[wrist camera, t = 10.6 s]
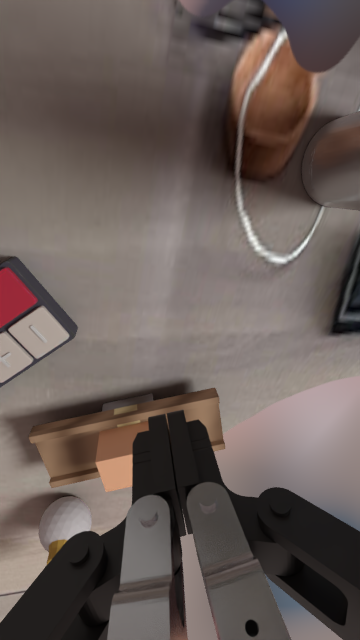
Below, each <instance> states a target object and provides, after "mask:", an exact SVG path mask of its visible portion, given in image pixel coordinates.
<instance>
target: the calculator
mask: <svg viewBox="0 0 360 640" xmlns="http://www.w3.org/2000/svg"><path fill="white" fill-rule="evenodd" d="M77 328H78V327H77V325H76V324H75V323H74V322H73V320H72V319H71V318H70V317H69V316H68V315H67V314H66V312H65V311H64V310H63V309H62V308H61V307H60V306H59V304H58V303H57V302H56V301H55V300H54V299H53V298H52V296H51V295H50V294H49V293H48V292H47V291H46V289H45V288H44V287H43V286H42V285H41V284H40V283H39V281H38V280H37V279H36V278H35V277H34V276H33V275H32V273H31V272H30V271H29V270H28V269H27V268H26V267H25V265H24V264H23V263H22V262H21V261H20V260H19V259H18V258H17V257H11V258H9V259H8V260H6V261H4V262H3V263H1V264H0V387H2V386H3V385H5V384H6V383H8V382H9V381H11V380H12V379H14V378H15V377H17V376H18V375H20V374H21V373H23V372H24V371H26V370H27V369H29V368H30V367H31V366H33V365H34V364H36V363H37V362H39V361H40V360H42V359H43V358H45V357H46V356H48V355H49V354H51V353H52V352H54V351H55V350H57V349H58V348H60V347H61V346H63V345H64V344H66V343H67V342H69V341H70V340H72V339H73V338H74V337H75V335H76V332H77Z"/></svg>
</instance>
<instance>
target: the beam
mask: <svg viewBox="0 0 360 640" xmlns="http://www.w3.org/2000/svg"><path fill="white" fill-rule="evenodd" d="M219 403H220V402H219V396H218V394H217V391H216V389H215V388H211V389H206V390H201V391H197V392H192V393H187V394H183V395H178V396H173V397H169V398H164V399H159V400H154V399H153V394H147V395H143V396H138V397H133V398H128V399H124V400H119V401H114V402H109V403H105V404H103V408H102V412H98V413H93V414H89V415H84V416H79V417H74V418H70V419H65V420H60V421H56V422H51V423H46V424H41V425H37V426H33V428H32V430H31V433H30V435H29V440H30V442H31V444H32V443H35V444H36V446H37V449H38V451H39V453H40V455H41V457H42V460H43V462H44V464H45V466H46V468H47V471H48V473H49V475H50V477H51V479H50V482H49V483H50V486H51V488H54V487H59V486H63V485H67V484H72V483H76V482H81V481H85V480H90V479H94V478H98V477H101V476H100V474H99V471H98V468H97V465H96V463H95V462H96V454H97V447H98V440H99V432H100V431H104V430H109V429H114V428H118V427H123V426H127V425H132V424H136V423H141V422H146V421H148V417H151V416H156V415H161V414H166V418H167V413H170V412H174V411H179V410H184V414H185V418H186V422H189V421H194V420H198V419H199V420H200V421H201V422H202V423H203V424H204V425H205V426H206V428H207V432H208V435H209V439H210V441H211V445H212V448H213V451H218V450H222V449H225V443H224V441H223V434H222V426H221V418H220V411H219ZM167 423H168V419H167ZM168 427H169V426H168Z"/></svg>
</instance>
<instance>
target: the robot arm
mask: <svg viewBox="0 0 360 640" xmlns="http://www.w3.org/2000/svg"><path fill="white" fill-rule="evenodd" d="M302 180H303V183H304V187H305V189H306V191H307V193H308V195H309V196H310V197H311V198H312V199H313V200H314V201H315V202H317V203H318V204H320V205H323V206H326V207H333V208H342V209H350V210H359V211H360V111H359V112H356V113H353V114H350V115H347V116H344V117H341V118H338V119H335V120H333V121H331V122H329V123H328V124H326V125H325V126H323V127H322V128H321V129H320V130H319V131H318V132H317V133H316V134H315V135H314V137H313V138H312V140H311V141H310V143H309V145H308V147H307V149H306V151H305V154H304V158H303V162H302ZM167 419H168V423H167ZM148 425H149V430H148V431H144V432H139V433H137V435H136V437H135V439H134V441H133V444H132V455H133V457H132V464H133V466H132V506H131V507H130V509H129V511H128V514H127V516H126V518H125V519H124V520H123V521H122V522H121V523H120V524H119V525H118V526H116V527H115V528H113V529H111V530H110V531H108V532H106V533H105V534H103V535H101V536H99V535H98V534H97V533H95V532H92V531H83V532H80V533H78V534H76V535H74V536H72V537H71V538H70V539H69V540H67V541H66V543H65V544H64V545H63V546H62V547H61V549H60V550H59V551H58V552H57V553H56V555H55V556H54V557H53V558H52V560H51V561H50V562H49V563H48V565H47V566H46V567H45V568H44V570H43V571H42V572H41V573H40V575H39V576H38V577H37V578H36V579H35V581H34V582H33V583H32V584H31V586H30V587H29V588H28V589H27V591H26V592H25V593H24V594H23V596H22V597H21V598H20V599H19V601H18V602H17V603H16V604H15V606H14V607H13V608H12V609H11V610H10V612H9V613H8V614H7V615H6V617H5V618H4V619H3V620H2V622H1V623H0V640H188V637H187V625H186V608H185V592H184V576H183V562H182V548H181V540H180V537H181V536H185V535H186V530H185V523H186V527H187V532H188V534H193V537H194V542H195V547H196V551H197V556H198V560H199V564H200V568H201V573H202V576H203V580H204V584H205V589H206V593H207V597H208V601H209V605H210V609H211V613H212V617H213V621H214V625H215V629H216V634H217V638H218V640H291V637H290V635H289V633H288V630H287V628H286V625H285V623H284V620H283V618H282V615H281V613H280V611H279V608H278V606H277V603H276V601H275V599H274V596H273V594H272V591H271V589H270V586H269V584H268V581H267V579H266V576H265V574H266V575H267V577H268V578H269V579H270V580H271V581H272V582H274V583H275V584H276V585H277V586H279V587H280V588H281V589H282V590H283V591H285V592H286V593H287V594H288V595H290V596H291V597H292V598H293V599H294V600H295V601H297V602H298V603H299V604H300V605H302V606H303V607H304V608H305V609H306V610H308V611H309V612H310V613H311V614H312V615H314V616H315V617H316V618H317V619H319V620H320V621H321V622H322V623H324V624H325V625H326V626H327V627H328V628H330V629H331V630H332V631H333V632H335V633H336V634H337V635H338V636H339V637H340V638H342V639H343V640H360V532H359V531H358V530H356V529H354V528H353V527H351V526H349V525H348V524H346V523H344V522H342V521H341V520H339V519H337V518H335V517H334V516H332V515H331V514H329V513H327V512H325V511H324V510H322V509H320V508H318V507H317V506H315V505H313V504H312V503H310V502H308V501H307V500H305V499H303V498H301V497H300V496H298V495H296V494H295V493H293V492H291V491H289V490H287V489H284V488H277V487H275V488H270V489H267V490H265V491H264V492H262V493H261V495H260V496H259V498H255V497H245V496H240V495H237V494H235V493H233V492H232V491H230V490H229V489H228V488H227V487H226V486H225V485H224V483H223V481H222V478H221V475H220V471H219V468H218V465H217V461H216V459H215V455H214V451H213V448H212V445H211V441H210V439H209V435H208V432H207V428H206V426H205V425H204V424H203V423H202V422H201V421H200V420H199V419H198V420H194V421H189V422H186V418H185V414H184V410H179V411H174V412H170V413H167V418H166V414H161V415H156V416H151V417H148ZM168 426H169V427H168ZM182 509H183V510H182ZM183 514H184V517H183ZM184 518H185V523H184ZM264 573H265V574H264Z"/></svg>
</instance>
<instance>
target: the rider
mask: <svg viewBox="0 0 360 640" xmlns="http://www.w3.org/2000/svg"><path fill="white" fill-rule="evenodd" d="M148 430H149V425H148V421H146V422H141V423H136V424H132V425H127V426H123V427H118V428H114V429H109V430H104V431H100V432H99V440H98V447H97V454H96V462H95V463H96V465H97V468H98V471H99V474H100V476H101V479H102V482H103V485H104V487H105V490H106V492H109V491H113V490H118V489H122V488H126V487H131V486H132V466H133V464H132V457H133V455H132V444H133V441H134V439H135V437H136V435H137V433H139V432H144V431H148Z"/></svg>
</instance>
